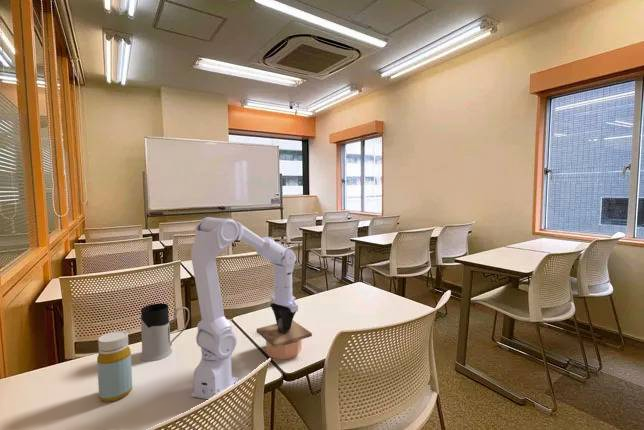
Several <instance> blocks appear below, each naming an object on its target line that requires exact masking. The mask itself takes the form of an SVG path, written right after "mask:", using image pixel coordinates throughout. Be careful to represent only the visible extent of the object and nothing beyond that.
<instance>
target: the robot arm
mask: <svg viewBox="0 0 644 430" xmlns="http://www.w3.org/2000/svg"><path fill="white" fill-rule="evenodd" d="M194 233H195V237H194V240H193V242H192V243H193V244H192V247H191V250H190V251H191V252H190V257H191V258H190V259H191V264H192V269H193V270H192V271H193V275H194V281H195V287H196V294H197V299H198V305H199V310H200V316H201V320H200V321H199V322H198V323H197V325H196V326H197V331H196V332H197V333H196V336H195V341H196V344H197V346H198V347H199V348H200V352H201V359H200V362H199V363H198V365H197V366H196V368H195V369H194V372H193V391H192V393H191V397H193V398H199V399H204V400H209V398H211V397H213V396H214V395H216V394H218V393H220V392H221V391H222V390H224V389H226V388H227V387H229V386H231V385H232V384H234V383H235V382H236V383H237V382H238V381H239V377H235V376H232V374H233V373H232V372H233V371H232V355H233V352H234V351H235V348H236V346H237V343H238V342H237V336H236V334H235V333H234V332H233V330H232V325H231V323H230V322H229V321H228V319H227V318H226V316H225V312H224V306H223V299H222V298H223V297H222V293H221V286H220V281H219V280H220V279H219V273H218V266H217V261H216V260H217V259H216V258H217V257H218V256H219V254H220V253H222V252H223V251H224V250H225V249H226V248H228V247H229V246H230V245H231V244H233V243H234V242H235V241H240V242H242V243H245V244H247V245H248V246H250V247H253V248H255V253H256V254H257V255H258V256H260V257H263V258H264V259H266V260H268V261H269V262H270V263H271V265H273V293H270V295H269V296H270V298H269V299H270V300H271V301H273V303H270V308H271V310H272V312H273V314H274V318H275V322H276V324H277V326H278V319H280V318H282V324H283V329H284V331H286V330H289V329H290V328H291V324H292V320H293V321H294V317H295V316H296V315H295V314H296V313H297V312H299V305H298V304H297V303H296V301H295V300H296V296H294V295H293V272H294V268H295V267H294V266H295V265H296V260H297V256H296V253H295V252H294V250H293V249H292V248H287V247H284V244H283V243H278V242H276V241H275V240H274V239H275V238H274V237H273V236H264V237H261V236H259V235H257V234H256V233H255V232H253V231H252V230H250V229H249V228H247V227H245V225H243V224H242V223H241V222H239V221H236V220H234V219H233V218H219V217H213V216H212V217H211V216H207V217H204V218H202V219H201V220H200V221H199V223H198V224H197V225H196V226H195V227H194ZM236 383H235V384H236ZM235 384H234V385H235Z"/></svg>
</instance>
